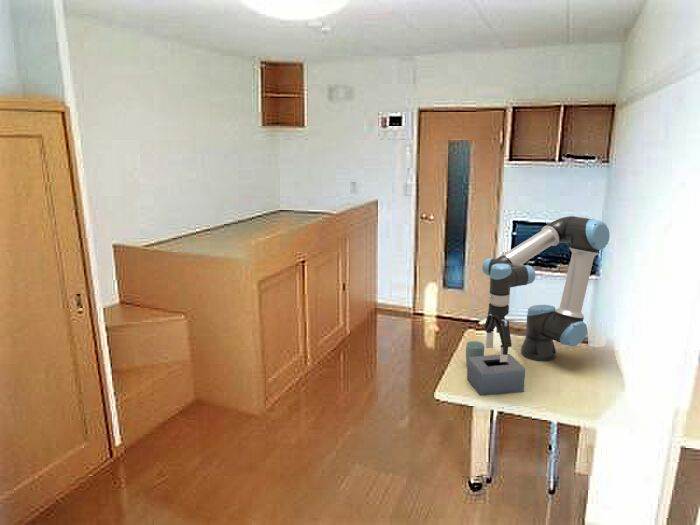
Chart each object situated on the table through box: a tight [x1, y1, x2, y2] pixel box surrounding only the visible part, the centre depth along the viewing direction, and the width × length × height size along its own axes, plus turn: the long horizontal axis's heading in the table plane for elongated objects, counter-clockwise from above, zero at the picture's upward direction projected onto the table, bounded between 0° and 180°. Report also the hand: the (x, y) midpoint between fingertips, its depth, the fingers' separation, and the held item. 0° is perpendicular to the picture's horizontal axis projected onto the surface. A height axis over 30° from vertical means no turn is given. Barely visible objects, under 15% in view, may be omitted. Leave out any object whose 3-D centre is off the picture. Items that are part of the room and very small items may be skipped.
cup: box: [465, 340, 485, 365], centre depth 225 cm, size 8×8×10 cm
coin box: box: [466, 353, 526, 397], centre depth 207 cm, size 18×14×10 cm
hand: (496, 354), depth 205 cm, fingers open, 13 cm apart
